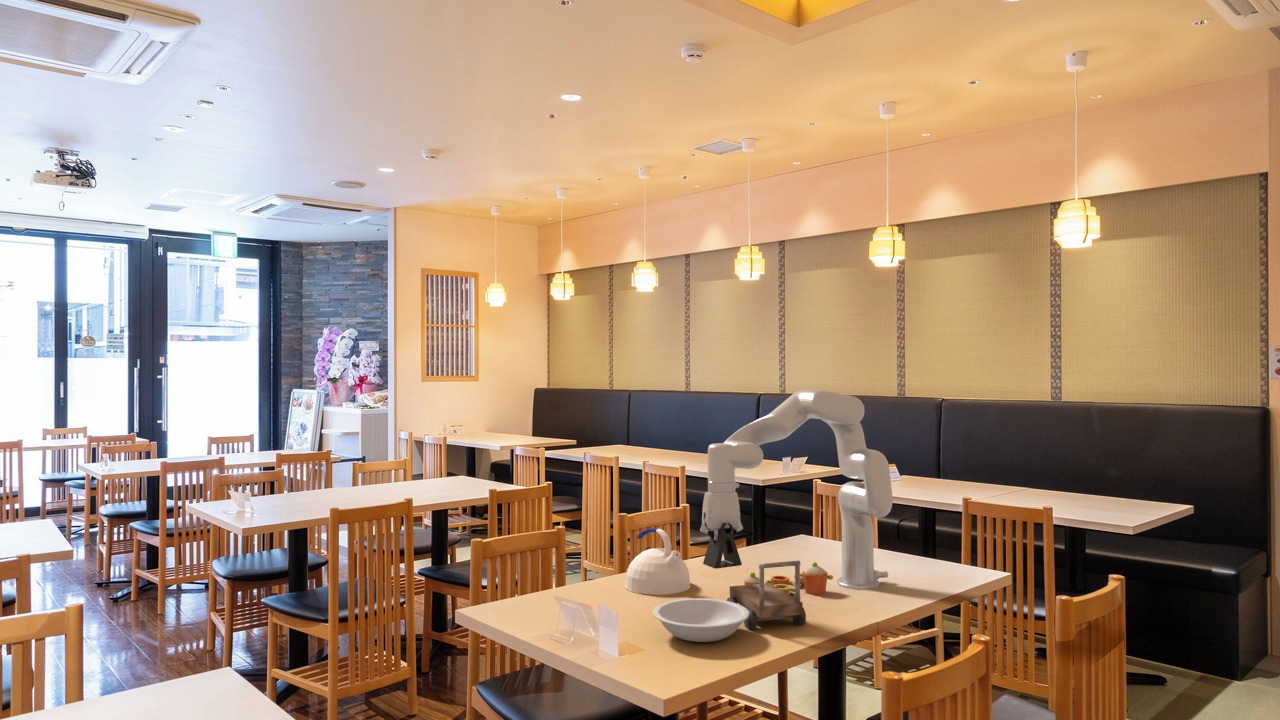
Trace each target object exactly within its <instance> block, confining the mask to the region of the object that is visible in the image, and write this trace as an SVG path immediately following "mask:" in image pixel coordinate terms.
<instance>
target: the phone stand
mask: <svg viewBox="0 0 1280 720" xmlns="http://www.w3.org/2000/svg"><path fill="white" fill-rule="evenodd" d="M728 524H729V526H730V528H729V529H724V528H725V526H726V525H727V524H726V523H724V524H722V526H721V528H720V529H718V540H717V541H716V542H715V545H714V542H713V541H712V538H711V537H710V536H709V537H710V538H709V542H708V545H707V548H706V551H705V555H704V558H703V561H702V565H705V566H707V567H710V568H712V569H715V570H716V569H717V570H718V569H724V568H731V567H740V566H742V565H743V564H742V560H741V558H740V554H739V552H738V551H739V550H738V548H737V544H736V541H735V538H734V536H733V534H732V529H733V528H732V525H731V524H730V523H728ZM725 540H728V541H729V545H730V554H726V553H725V552H723V550H724V545H725ZM722 558H724V559H723V560H722Z"/></svg>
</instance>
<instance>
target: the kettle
mask: <svg viewBox="0 0 1280 720" xmlns="http://www.w3.org/2000/svg"><path fill="white" fill-rule="evenodd" d="M651 533H657V534H658V535H659V536H660V537H661V539H662V541H663V546H664V548H662V547H650V546H647V547H645V549H644V550H643V551H641V552H640V553H639V554H638V555H636V556H635V557H634V559H633V560H632V561H631V562H630V563H629V565H628V568H627V571H626V577H625V586H624V587H625V588H626V589H627V590H628V591H630V592H632V593H635V594H640V595H647V596H649V595H650V596H666V595H675V594H680V593H684V592H686V591H689V589H690V588H691V587H692V586H691V585H692V584H691V578H690V571H689V569H688V566H687V564H686V563H685V561H684V560H683V559H682V554H681V552H680V551H679V550H675V549H674V550H672V543H671V539H670V537H669V534H668V533H667V532H666V531H665V530H663V529H662V528H659V527H649V528H646V529H644V530H642V531H640V533H639V534H637V536H636V539H638V540H641V539H643V538H644V537H645V536H647V535H648V534H651Z"/></svg>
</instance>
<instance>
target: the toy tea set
mask: <svg viewBox="0 0 1280 720" xmlns="http://www.w3.org/2000/svg"><path fill="white" fill-rule="evenodd" d="M811 563H812V565H809V566H807V567H806V568H805V569H804V570H803V571H802V573H801V572H800V589H804V591H805V593H806V594H808V595H811V596H822V595H825V594H826V590H827V583H828V580H830V581H833V578H834V576H833V575H832V574H829V573H828V571H826V570H825V569H824V568H823V567H822V566H819V565H818V563H817V562H816V561H814V562H811ZM749 575H750V576H748V577H746V578H745V579H744V580H743V583H744V584H743V585H753V584H759V577H757V576H756V573H755V572H753V571H752V572H750V574H749ZM793 576H794V577H793V578H794V579H795V573H794V574H793ZM765 583H770V584H772V585H774V586H775V587H777V588H779V589H781V590H782V591H784V592H786V593H787V594H789V595H791V596H792V597H794V598H795V591H792V587H794V588H795V580H791V579H790V577H789V576H785V575H772V576H770V579H767V580H766V581H765ZM791 585H792V586H791Z"/></svg>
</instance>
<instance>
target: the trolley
mask: <svg viewBox="0 0 1280 720" xmlns="http://www.w3.org/2000/svg"><path fill="white" fill-rule="evenodd" d="M783 567H794V574H795V578H794V582H795V587H794V592H795V596H794V597H792V596H791V595H789V594H787V593H786V592H784V591H782V590H781V589H779V588H777V587H775V586H774V585H772V584H770V583H766V582H765V569H772V568H783ZM758 573H759V574H758V575H759V577H758V578H759V584H753V585H745V584H743V585H732V586H729V597H727V599H726V601H729V602H733V603H736V604H739V605H741V606H743V607H745V608H746V609H747V610H748V611H749V617H748V618H747V619H746V620H745V621H743V623H744V627H745V628H746V629H747V630H748V631H754V630H756V629H757V625H758V623H757V622H765V621H775V620H776V621H777V620H785V619H792V620H793V623H795V624H796V625H798V626H803V625H805V624H806V620H807V617H806V616H807V614H806V610H805V608H804V606H803V602H802V601H801V588H800V573H801V561H800V560H788V561H778V562H764V563H758Z"/></svg>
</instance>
